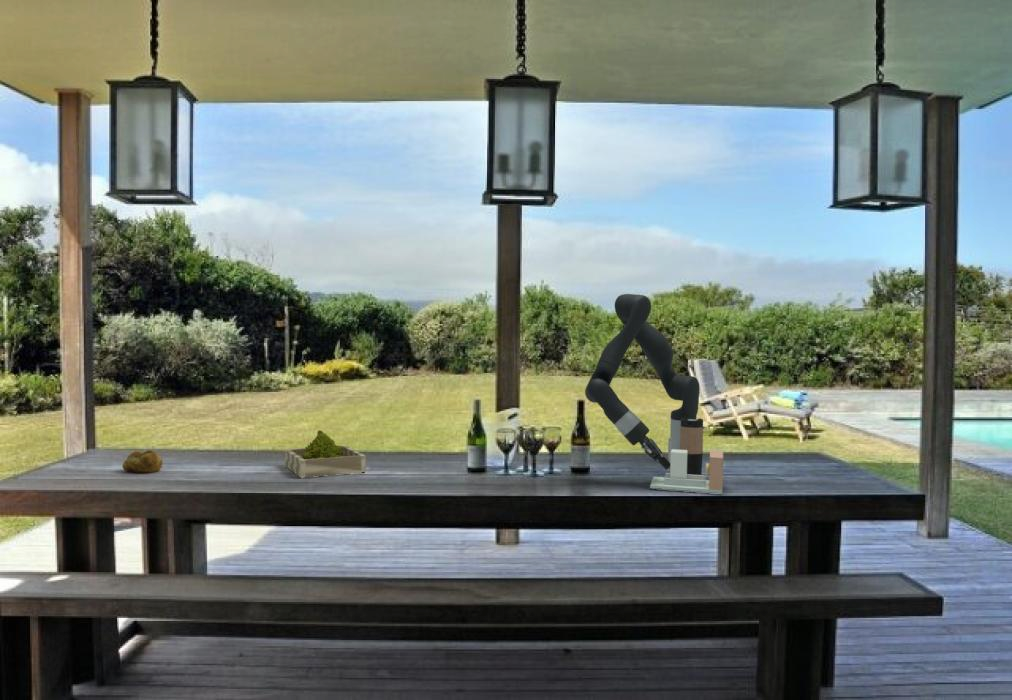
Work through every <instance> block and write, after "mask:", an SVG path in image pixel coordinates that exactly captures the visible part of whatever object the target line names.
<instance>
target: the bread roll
mask: <svg viewBox="0 0 1012 700" xmlns="http://www.w3.org/2000/svg"><path fill="white" fill-rule="evenodd" d="M162 468H163V458H162V457H161V456H160V455H159V454H158V453H157V452H156V451H154V450H151V449H150V450H146V451H144V452H142V451H139V450H138V451H137V450H136V451H133V452H132V453H130V454H129V455H127V458H126V460H124V461H123V462H122V469H123V470H124V471H126V472H130V473H137V474H138V473H139V474H150V473H149V472H152V473H155V471H156V472H159V471H160V470H161V469H162Z"/></svg>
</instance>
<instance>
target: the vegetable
mask: <svg viewBox="0 0 1012 700" xmlns="http://www.w3.org/2000/svg"><path fill="white" fill-rule="evenodd" d="M316 434H317V435H316V436H315V438H314V439H313V440H312V442H309V444H307V446H305V449H306V453H303V454H301V456H302V457H303V459H304V460H305V459H318V458H331V457H345V456H341V455H340V453H341V451H342V446H343V445H337V444H336V443H335V440H334V439H332V438H331V436H329V435H328V434H327V433H325V432H323V431H322V430H317V433H316Z"/></svg>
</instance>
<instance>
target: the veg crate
mask: <svg viewBox="0 0 1012 700" xmlns="http://www.w3.org/2000/svg"><path fill="white" fill-rule="evenodd" d="M341 446H342V451H341V453H340V455H341V456H345V457H331V458H318V459H305V460H304V459H303V457H302V456H301V454H303V453H306V449H305V448H290V449H289V448H288V449H285V450H284V452H285V453H284V467H285V466H286V467H287V469H288V468H289V469H290V470H291V471H290V470H289V469H288V470H289V471H290V472H292V471H293V472H294V473H295V474H297V475H298V476H299V477H301V478H304V477H313V476H324V475H336V474H350V475H352V474H351V473H361V472H366V471H367V470H366V466H367V464H366V461H367V460H366V459H367V457H366V455H365V454H364V453H361V452H359V451H357V450H355V449H354V448H351V447H349V446H348V445H341ZM286 467H285V468H286ZM293 472H292V473H293ZM294 473H293V474H294ZM297 475H296V476H297ZM298 476H297V477H298ZM299 477H298V478H299ZM301 478H300V479H301ZM304 479H305V478H304Z"/></svg>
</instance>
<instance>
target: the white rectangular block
mask: <svg viewBox="0 0 1012 700" xmlns="http://www.w3.org/2000/svg"><path fill="white" fill-rule="evenodd" d="M669 468H670V469H669V470H670V472H669V473H670V478H676V479H687V450H677V449H672V450H671V463H670V467H669Z"/></svg>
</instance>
